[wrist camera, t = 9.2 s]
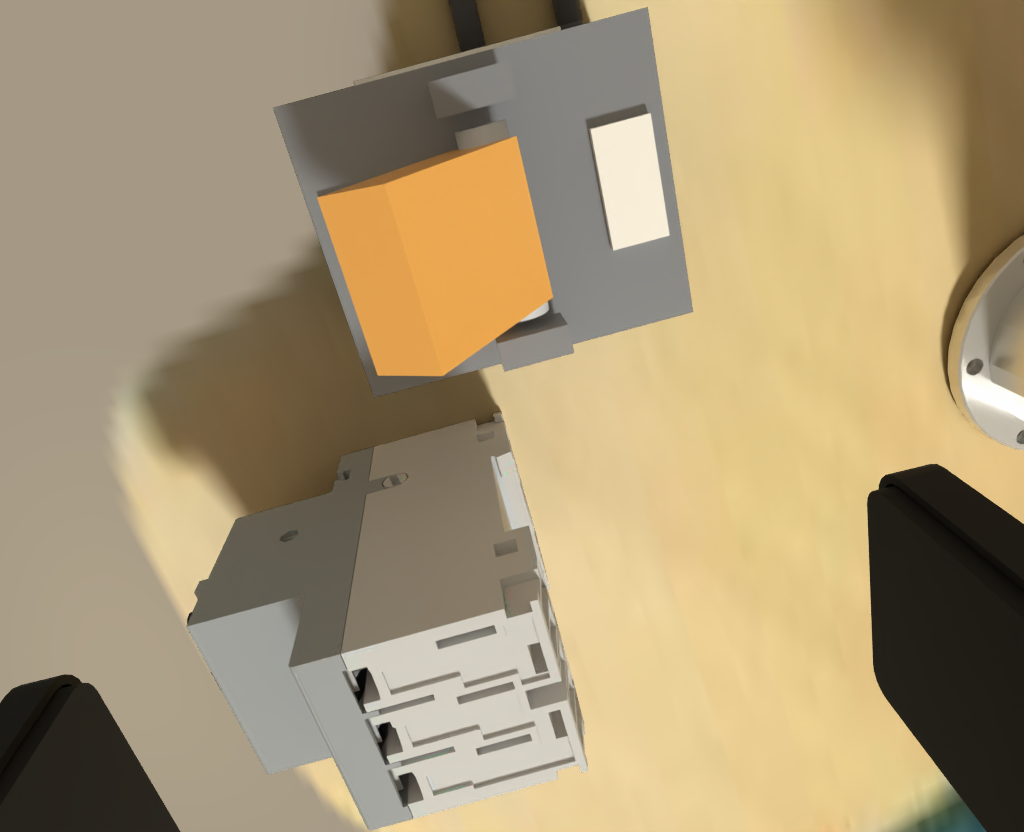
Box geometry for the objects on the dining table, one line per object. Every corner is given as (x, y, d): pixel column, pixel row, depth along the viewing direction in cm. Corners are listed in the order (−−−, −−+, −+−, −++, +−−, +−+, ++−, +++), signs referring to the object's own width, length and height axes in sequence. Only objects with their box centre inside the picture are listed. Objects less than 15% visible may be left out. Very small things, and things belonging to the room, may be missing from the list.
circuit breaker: (221, 488, 36) (94, 722, 22) (501, 411, 36) (546, 597, 22) (278, 608, 39) (196, 878, 25) (536, 536, 39) (595, 768, 25)
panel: (593, 26, 30) (668, -12, 21) (636, 268, 34) (715, 329, 25) (309, 102, 30) (254, 100, 21) (385, 335, 34) (369, 422, 25)
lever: (526, 113, 22) (377, 162, 17) (568, 303, 24) (448, 393, 20) (463, 128, 23) (309, 177, 19) (509, 306, 26) (383, 391, 21)
